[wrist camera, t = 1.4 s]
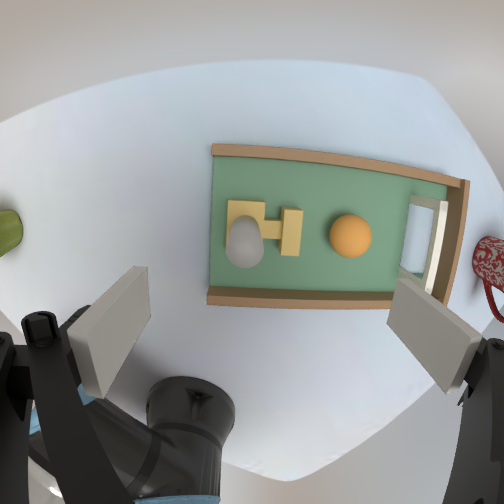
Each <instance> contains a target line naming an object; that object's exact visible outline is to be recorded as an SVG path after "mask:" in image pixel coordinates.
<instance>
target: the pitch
mask: <svg viewBox="0 0 504 504" xmlns="http://www.w3.org/2000/svg"><path fill="white" fill-rule="evenodd" d="M211 155H212V156H214V168H213V187H212V210H211V239H210V286H209V289H208V292H207V305H219V306H236V307H257V308H284V309H390V308H391V304H392V300H393V296H394V291H395V287H396V282H397V279H409V280H411V281H412V282H413V283H415V284H416V285H418V286H419V287H420V288H422V289H423V290H424V291H426V292H427V293H428V294H430V295H431V296H433V297H434V298H435V299H437V300H438V301H439V302H441V303H442V304H443V305H444V306H446V307H447V304H448V301H449V297H450V294H451V290H452V286H453V282H454V278H455V274H456V270H457V265H458V261H459V256H460V251H461V246H462V240H463V235H464V229H465V222H466V215H467V207H468V199H469V189H470V181H469V180H465V179H459V178H455V177H451V176H447V175H443V174H439V173H435V172H431V171H427V170H423V169H418V168H414V167H409V166H404V165H399V164H394V163H389V162H384V161H378V160H373V159H367V158H361V157H355V156H348V155H341V154H334V153H327V152H319V151H310V150H301V149H291V148H280V147H268V146H253V145H235V144H212V149H211ZM428 197H429V198H428ZM433 198H434V199H433ZM229 199H244V200H261V201H265V216H264V218H267V219H280V217H281V206H285V207H298V208H300V209H301V210H303V220H302V231H301V241H300V251H299V256H284V255H280V252H279V250H278V242H279V239H267V238H263V246H264V254H263V257H262V259H261V261H260V262H259V263H258V264H256V265H255V266H253V267H250V268H240V267H237V266H235V265H234V264H232V263H231V262H230V260H229V259H228V257H227V254H226V235H227V213H228V200H229ZM437 199H438V200H437ZM409 203H410V204H414V205H418V206H422V207H426V208H430V209H434V210H435V211H434V219H433V225H432V232H431V238H430V244H429V249H428V255H427V260H426V265H425V269H424V274H415V273H410V272H409V271H407V270H406V269H404V268H403V267H401V266H400V260H401V255H402V249H403V244H404V237H405V231H406V224H407V217H408V209H409ZM348 214H353V215H357V216H360V217H362V218H363V219H364V220H365V221H366V222H367V223H368V224H369V226H370V229H371V232H372V241H371V244H370V246H369V248H368V250H367V251H366V252H365V253H364V254H362V255H361V256H359V257H355V258H346V257H343V256H341V255H339V254H338V253H337V252H336V251H335V250H334V249H333V247H332V245H331V243H330V238H329V234H330V229H331V227H332V225H333V223H334V222H335V221H336V220H337V219H338V218H339V217H341V216H344V215H348Z"/></svg>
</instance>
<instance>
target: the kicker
mask: <svg viewBox="0 0 504 504" xmlns="http://www.w3.org/2000/svg"><path fill="white" fill-rule="evenodd" d="M264 216H265V201H261V200H244V199H229V200H228V213H227V235H226V254H227V257H228V259H229V260H230V262H231V263H232V264H234V265H235V266H237V267H240V268H250V267H253V266H255V265H256V264H258V263H259V262H260V261H261V259H262V257H263V254H264V246H263V238H267V239H279V242H278V250H279V252H280V255H284V256H299V251H300V241H301V231H302V220H303V210H301V209H300V208H298V207H285V206H281V217H280V219H267V218H264Z"/></svg>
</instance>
